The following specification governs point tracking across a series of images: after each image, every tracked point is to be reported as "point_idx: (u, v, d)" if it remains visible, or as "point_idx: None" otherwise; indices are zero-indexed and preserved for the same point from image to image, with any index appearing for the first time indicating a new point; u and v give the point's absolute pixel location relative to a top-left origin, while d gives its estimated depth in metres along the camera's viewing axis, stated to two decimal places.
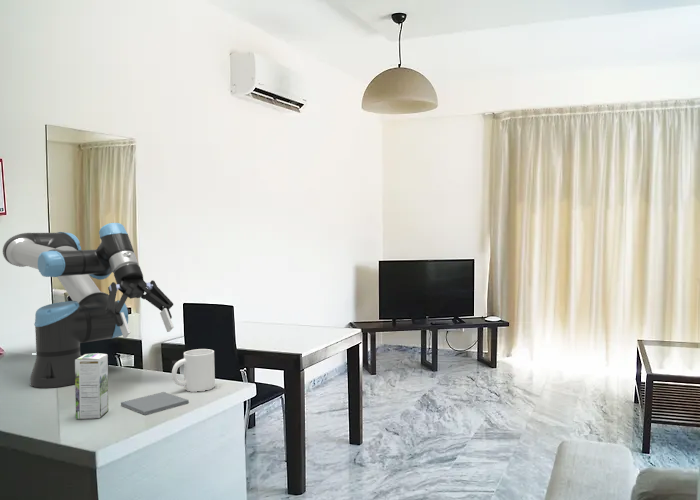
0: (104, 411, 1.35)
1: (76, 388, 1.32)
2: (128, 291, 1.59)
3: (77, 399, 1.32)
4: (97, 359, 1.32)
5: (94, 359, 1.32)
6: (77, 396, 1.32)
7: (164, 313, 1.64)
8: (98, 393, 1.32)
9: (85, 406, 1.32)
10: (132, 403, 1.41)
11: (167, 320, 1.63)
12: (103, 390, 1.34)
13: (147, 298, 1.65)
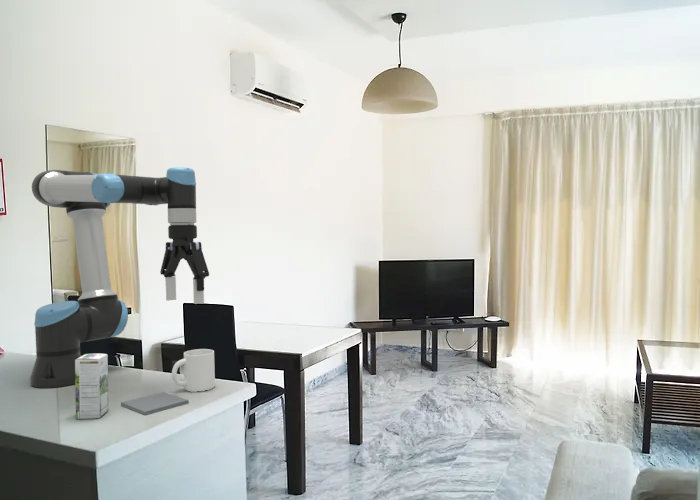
0: (104, 411, 1.35)
1: (76, 388, 1.32)
2: None
3: (77, 399, 1.32)
4: (97, 359, 1.32)
5: (94, 359, 1.32)
6: (77, 396, 1.32)
7: (173, 281, 1.58)
8: (98, 393, 1.32)
9: (85, 406, 1.32)
10: (132, 403, 1.41)
11: (174, 290, 1.58)
12: (103, 390, 1.34)
13: (175, 260, 1.55)
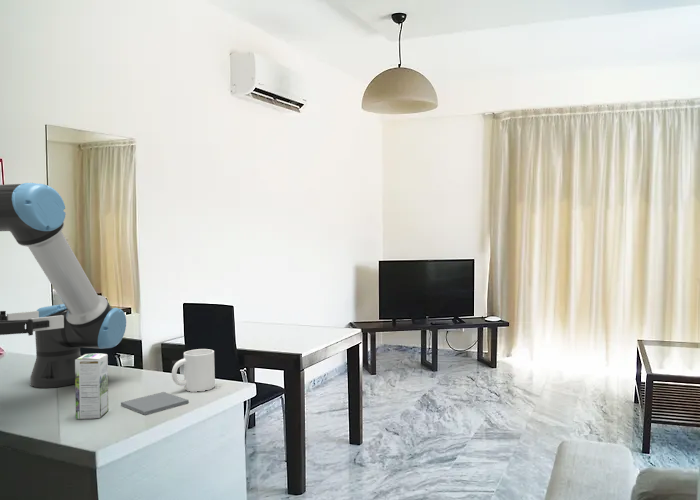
0: (104, 411, 1.35)
1: (76, 388, 1.32)
2: None
3: (77, 399, 1.32)
4: (97, 359, 1.32)
5: (94, 359, 1.32)
6: (77, 396, 1.32)
7: (14, 316, 1.27)
8: (98, 393, 1.32)
9: (85, 406, 1.32)
10: (132, 403, 1.41)
11: (26, 314, 1.29)
12: (103, 390, 1.34)
13: None
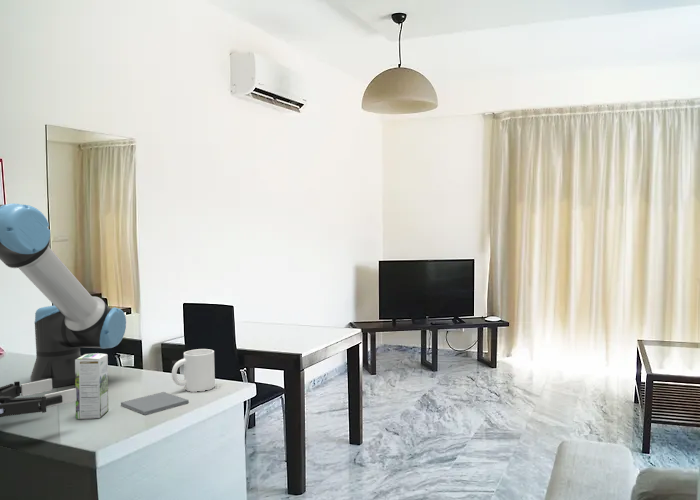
0: (104, 411, 1.35)
1: (76, 388, 1.32)
2: (5, 397, 1.18)
3: (77, 399, 1.32)
4: (97, 359, 1.32)
5: (94, 359, 1.32)
6: (77, 396, 1.32)
7: (28, 387, 1.30)
8: (98, 393, 1.32)
9: (85, 406, 1.32)
10: (132, 403, 1.41)
11: (39, 384, 1.32)
12: (103, 390, 1.34)
13: None
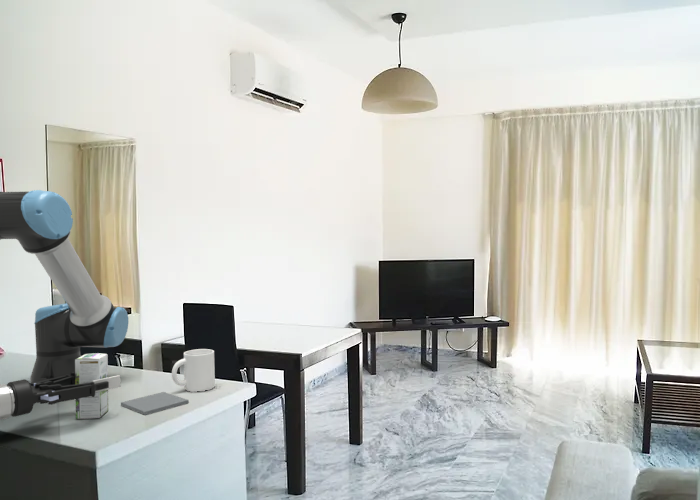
0: (104, 411, 1.35)
1: None
2: (55, 385, 1.26)
3: (77, 399, 1.32)
4: (97, 359, 1.32)
5: (94, 359, 1.32)
6: None
7: None
8: (98, 393, 1.32)
9: (85, 406, 1.32)
10: (132, 403, 1.41)
11: None
12: None
13: (55, 389, 1.31)
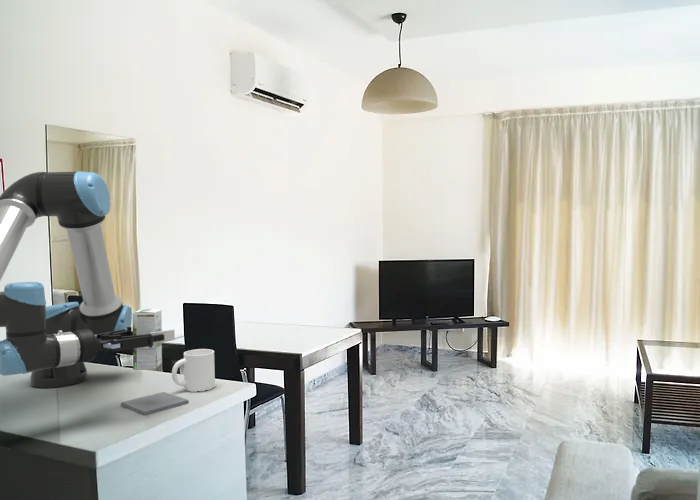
0: (159, 363, 1.42)
1: None
2: (116, 335, 1.33)
3: (134, 351, 1.38)
4: (153, 313, 1.39)
5: (150, 312, 1.38)
6: (135, 348, 1.38)
7: None
8: (154, 345, 1.39)
9: (141, 358, 1.38)
10: (132, 403, 1.41)
11: None
12: (158, 343, 1.41)
13: None
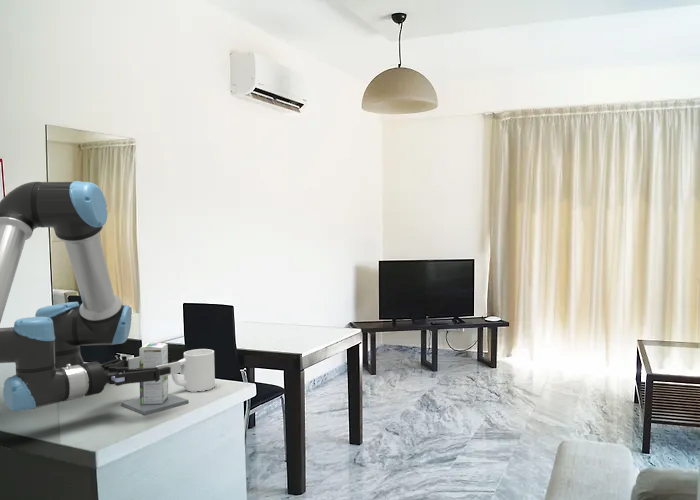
0: (165, 397, 1.43)
1: None
2: (123, 367, 1.33)
3: (141, 386, 1.40)
4: (160, 348, 1.40)
5: (157, 348, 1.40)
6: (141, 383, 1.40)
7: (134, 361, 1.45)
8: (160, 380, 1.40)
9: (148, 393, 1.40)
10: (132, 403, 1.41)
11: None
12: (164, 377, 1.42)
13: None
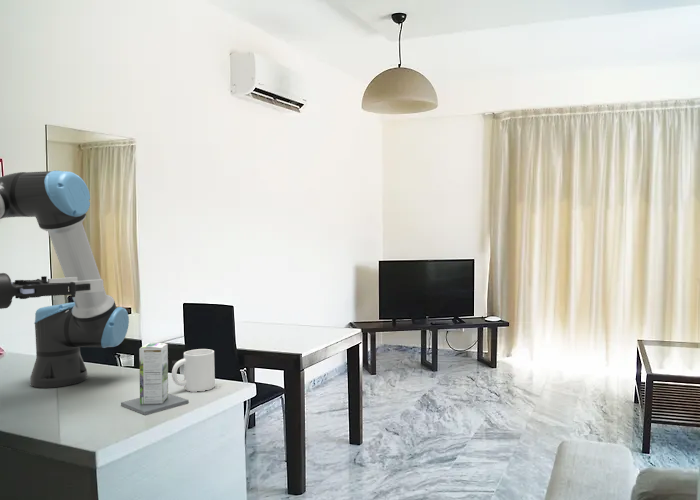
0: (165, 397, 1.43)
1: (140, 375, 1.39)
2: (35, 281, 1.20)
3: (141, 386, 1.40)
4: (160, 348, 1.40)
5: (157, 348, 1.40)
6: (141, 383, 1.40)
7: (55, 282, 1.32)
8: (160, 380, 1.40)
9: (148, 393, 1.40)
10: (132, 403, 1.41)
11: (65, 280, 1.34)
12: (164, 377, 1.42)
13: None
